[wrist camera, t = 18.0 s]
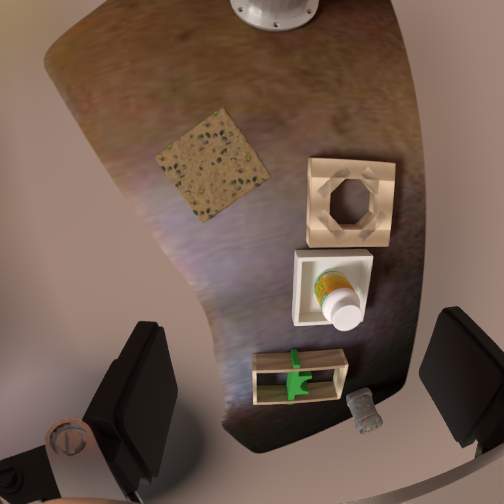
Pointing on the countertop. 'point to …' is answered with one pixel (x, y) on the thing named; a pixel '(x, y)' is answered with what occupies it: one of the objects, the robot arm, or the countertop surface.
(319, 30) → the countertop surface
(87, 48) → the countertop surface
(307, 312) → the tray
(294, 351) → the pipe clamp
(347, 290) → the supplement bottle
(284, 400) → the parts corral
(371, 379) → the countertop surface
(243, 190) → the speckled tile
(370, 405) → the stone
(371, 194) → the plate
